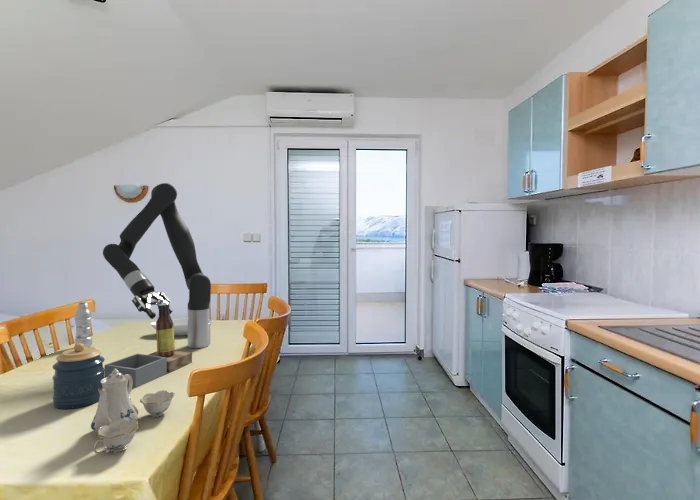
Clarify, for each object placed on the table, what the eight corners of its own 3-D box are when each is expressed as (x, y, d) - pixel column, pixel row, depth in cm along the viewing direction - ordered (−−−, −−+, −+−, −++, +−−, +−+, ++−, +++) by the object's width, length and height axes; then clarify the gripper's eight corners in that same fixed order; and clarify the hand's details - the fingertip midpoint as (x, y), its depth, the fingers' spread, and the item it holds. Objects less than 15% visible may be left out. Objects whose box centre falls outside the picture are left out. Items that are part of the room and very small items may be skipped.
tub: (137, 369, 144) (137, 353, 144) (166, 373, 140) (166, 357, 140) (104, 382, 131) (104, 365, 131) (135, 387, 127) (135, 369, 127)
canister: (48, 413, 108) (47, 352, 107) (58, 396, 119) (57, 340, 119) (102, 404, 114) (102, 346, 113) (107, 389, 125) (106, 336, 125)
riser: (163, 358, 157) (163, 348, 157) (191, 362, 153) (191, 352, 152) (139, 368, 145) (139, 357, 145) (169, 372, 141) (169, 361, 141)
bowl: (214, 328, 207) (214, 317, 207) (211, 335, 193) (211, 324, 193) (153, 331, 200) (153, 320, 199) (146, 339, 185) (146, 326, 185)
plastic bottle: (83, 350, 166) (83, 304, 165) (70, 349, 167) (70, 303, 166) (96, 346, 172) (95, 302, 171) (83, 345, 174) (83, 301, 173)
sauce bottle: (178, 353, 150) (177, 303, 150) (164, 358, 145) (163, 306, 144) (166, 351, 153) (165, 302, 152) (153, 356, 147) (151, 305, 147)
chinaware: (130, 467, 86) (137, 395, 86) (53, 461, 85) (60, 389, 85) (177, 411, 114) (183, 356, 114) (120, 406, 113) (126, 351, 113)
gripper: (129, 280, 144) (153, 312, 141) (158, 276, 157) (181, 305, 155) (118, 293, 146) (142, 325, 143) (148, 288, 159) (170, 317, 156)
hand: (162, 315), depth 149 cm, fingers open, 8 cm apart
